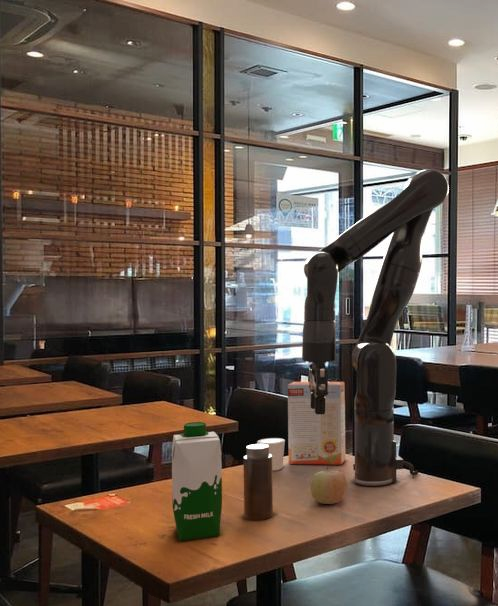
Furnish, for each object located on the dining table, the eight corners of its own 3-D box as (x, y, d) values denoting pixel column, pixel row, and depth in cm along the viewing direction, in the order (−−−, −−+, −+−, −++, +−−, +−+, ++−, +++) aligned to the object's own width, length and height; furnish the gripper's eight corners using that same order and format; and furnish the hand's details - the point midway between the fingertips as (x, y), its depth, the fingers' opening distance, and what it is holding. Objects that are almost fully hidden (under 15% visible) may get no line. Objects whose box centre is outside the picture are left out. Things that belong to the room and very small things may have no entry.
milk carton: (218, 521, 137) (217, 420, 137) (225, 537, 129) (223, 428, 129) (170, 528, 134) (169, 423, 133) (174, 544, 126) (173, 432, 125)
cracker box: (346, 459, 186) (345, 381, 185) (341, 465, 180) (340, 384, 179) (294, 458, 187) (293, 380, 187) (287, 464, 181) (287, 383, 181)
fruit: (317, 510, 144) (316, 471, 144) (306, 500, 151) (306, 463, 151) (352, 505, 147) (351, 467, 147) (340, 495, 154) (340, 459, 154)
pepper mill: (271, 510, 144) (270, 442, 144) (274, 518, 139) (273, 448, 139) (243, 512, 143) (242, 444, 142) (244, 521, 137) (244, 450, 137)
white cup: (261, 472, 173) (261, 444, 173) (254, 466, 180) (254, 439, 179) (288, 469, 177) (288, 441, 176) (280, 463, 183) (280, 436, 182)
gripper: (340, 342, 155) (338, 416, 155) (331, 338, 168) (329, 406, 168) (305, 342, 153) (304, 416, 153) (299, 338, 166) (298, 407, 166)
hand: (317, 411), depth 161 cm, fingers open, 8 cm apart
